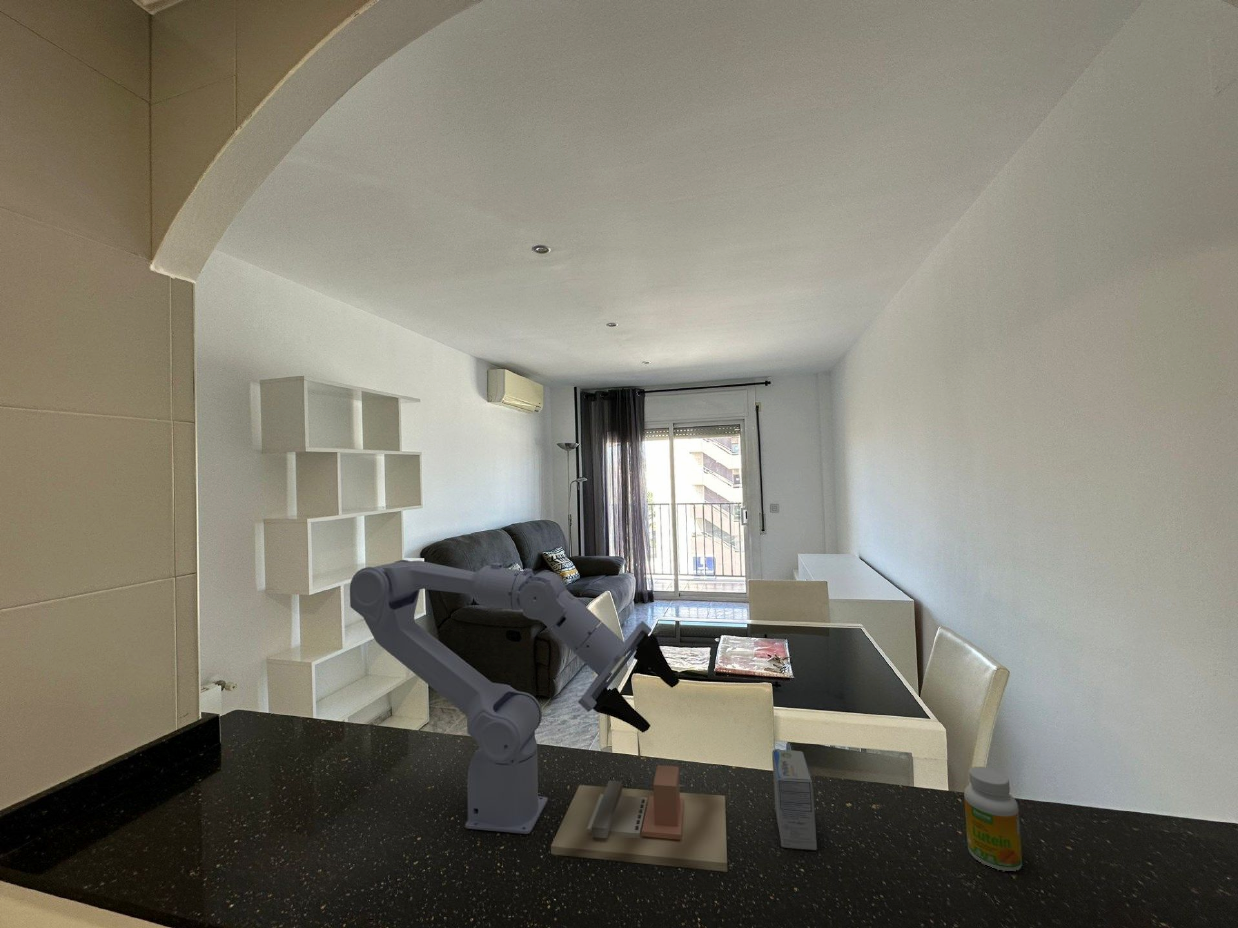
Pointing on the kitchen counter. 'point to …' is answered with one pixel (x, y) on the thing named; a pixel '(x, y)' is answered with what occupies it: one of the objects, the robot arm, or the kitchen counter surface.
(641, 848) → the board
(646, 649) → the robot arm
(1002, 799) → the supplement bottle
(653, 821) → the stub
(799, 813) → the medicine box
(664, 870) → the kitchen counter surface
